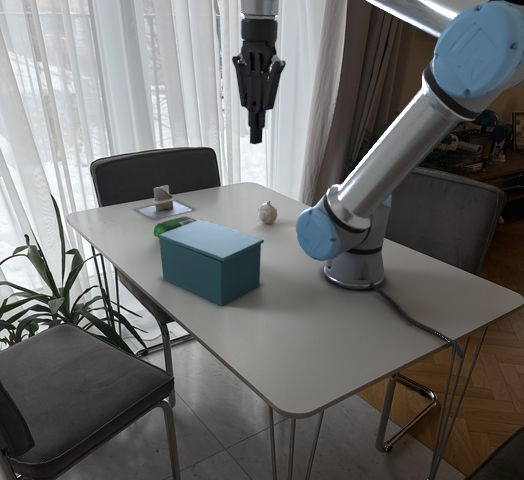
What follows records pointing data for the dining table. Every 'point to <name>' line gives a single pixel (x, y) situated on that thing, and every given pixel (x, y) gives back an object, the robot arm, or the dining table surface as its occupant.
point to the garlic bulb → (267, 213)
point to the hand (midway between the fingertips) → (256, 142)
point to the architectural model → (163, 205)
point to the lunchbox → (210, 272)
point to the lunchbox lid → (212, 239)
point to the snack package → (172, 224)
